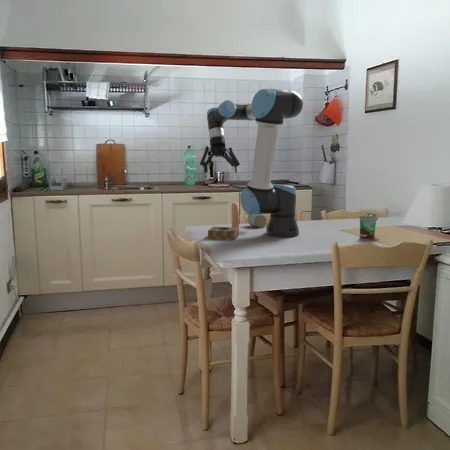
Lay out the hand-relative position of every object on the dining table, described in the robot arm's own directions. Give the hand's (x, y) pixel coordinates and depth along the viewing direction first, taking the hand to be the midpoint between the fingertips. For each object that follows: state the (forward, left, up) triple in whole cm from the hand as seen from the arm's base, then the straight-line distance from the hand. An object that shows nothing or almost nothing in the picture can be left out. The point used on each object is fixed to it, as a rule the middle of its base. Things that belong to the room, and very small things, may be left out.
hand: (221, 179), depth 230 cm
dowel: (-9, +10, -24) cm, 28 cm away
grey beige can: (-17, -10, -25) cm, 32 cm away
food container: (-70, +6, -25) cm, 74 cm away
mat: (-9, +10, -25) cm, 28 cm away
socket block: (-6, +21, -25) cm, 33 cm away
